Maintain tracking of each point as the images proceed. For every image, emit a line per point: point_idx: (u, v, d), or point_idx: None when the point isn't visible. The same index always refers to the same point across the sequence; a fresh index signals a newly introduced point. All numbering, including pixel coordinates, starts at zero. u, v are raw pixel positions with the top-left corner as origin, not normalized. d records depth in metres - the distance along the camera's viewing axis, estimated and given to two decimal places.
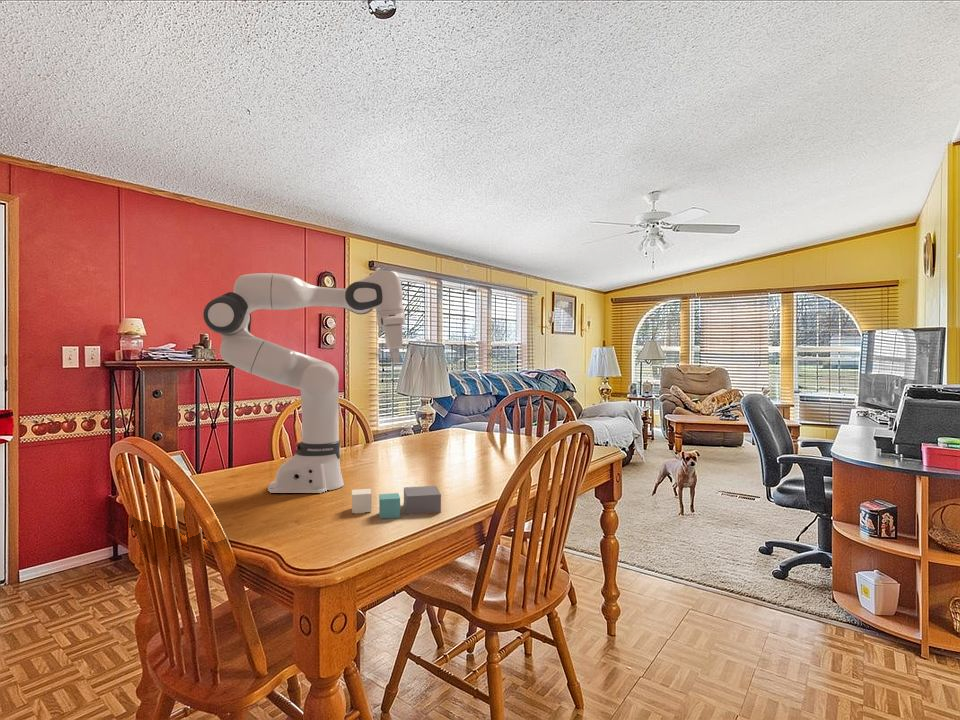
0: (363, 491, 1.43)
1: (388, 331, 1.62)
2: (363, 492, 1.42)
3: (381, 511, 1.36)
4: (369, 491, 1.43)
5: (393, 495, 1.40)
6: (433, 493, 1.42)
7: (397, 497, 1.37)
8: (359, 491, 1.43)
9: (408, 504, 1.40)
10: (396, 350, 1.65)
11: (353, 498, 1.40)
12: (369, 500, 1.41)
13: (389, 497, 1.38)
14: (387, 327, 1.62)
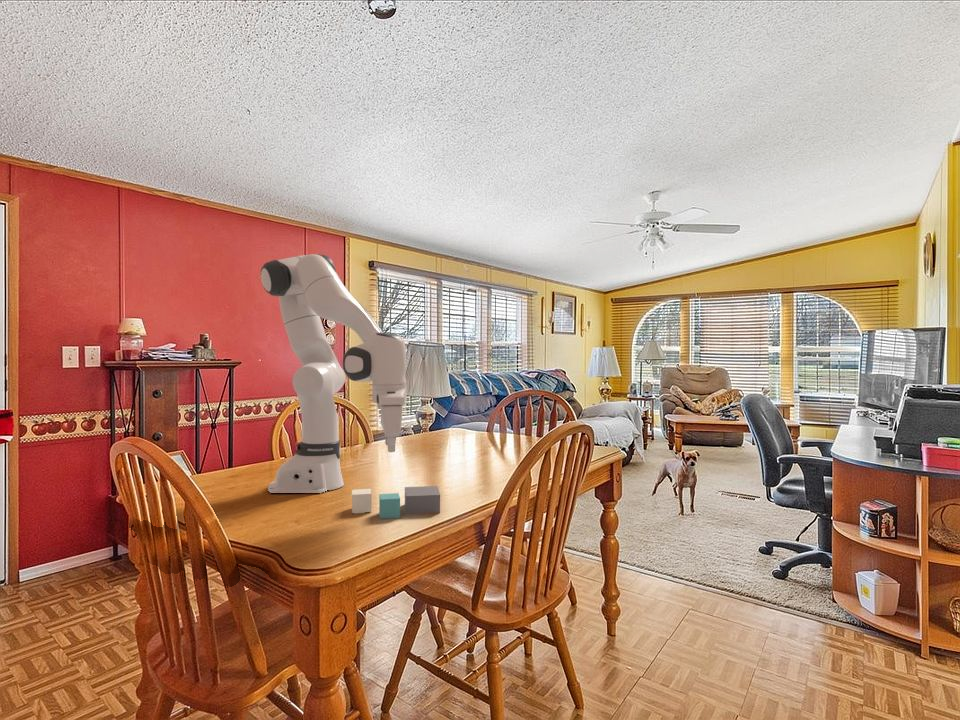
0: (363, 491, 1.43)
1: (384, 414, 1.28)
2: (363, 492, 1.42)
3: (381, 511, 1.36)
4: (369, 491, 1.43)
5: (393, 495, 1.40)
6: (432, 493, 1.42)
7: (398, 497, 1.37)
8: (359, 491, 1.43)
9: (407, 504, 1.40)
10: (392, 436, 1.32)
11: (353, 498, 1.40)
12: (369, 500, 1.41)
13: (389, 497, 1.38)
14: (383, 408, 1.29)
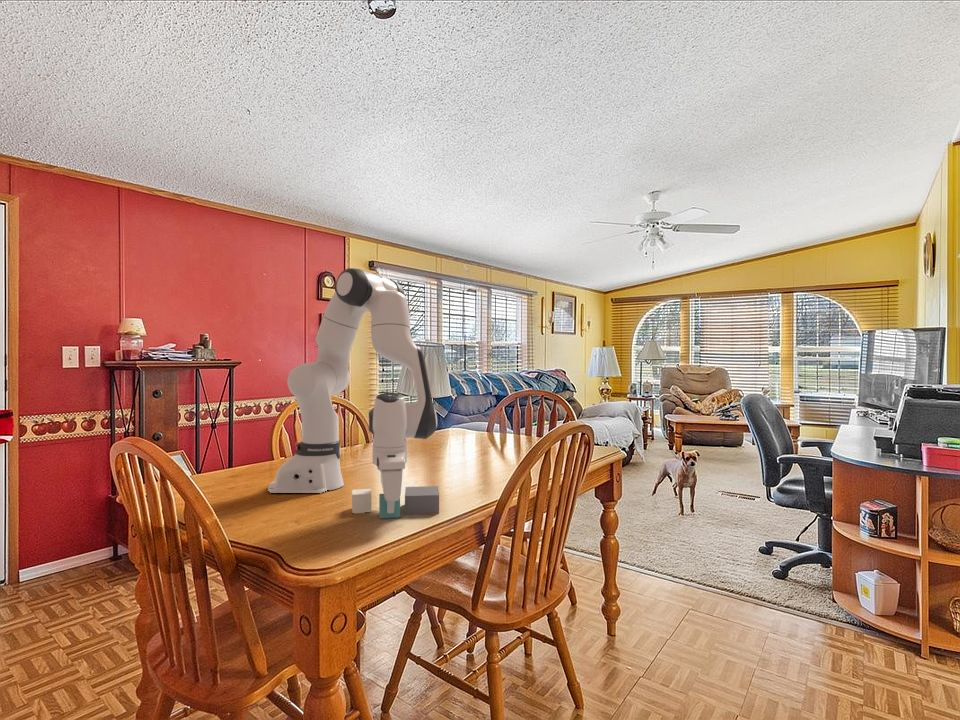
0: (363, 491, 1.43)
1: (384, 479, 1.29)
2: (363, 492, 1.42)
3: (381, 511, 1.36)
4: (369, 491, 1.43)
5: None
6: (432, 493, 1.42)
7: None
8: (359, 491, 1.43)
9: (406, 504, 1.40)
10: None
11: (353, 498, 1.40)
12: (369, 500, 1.41)
13: None
14: (383, 473, 1.30)
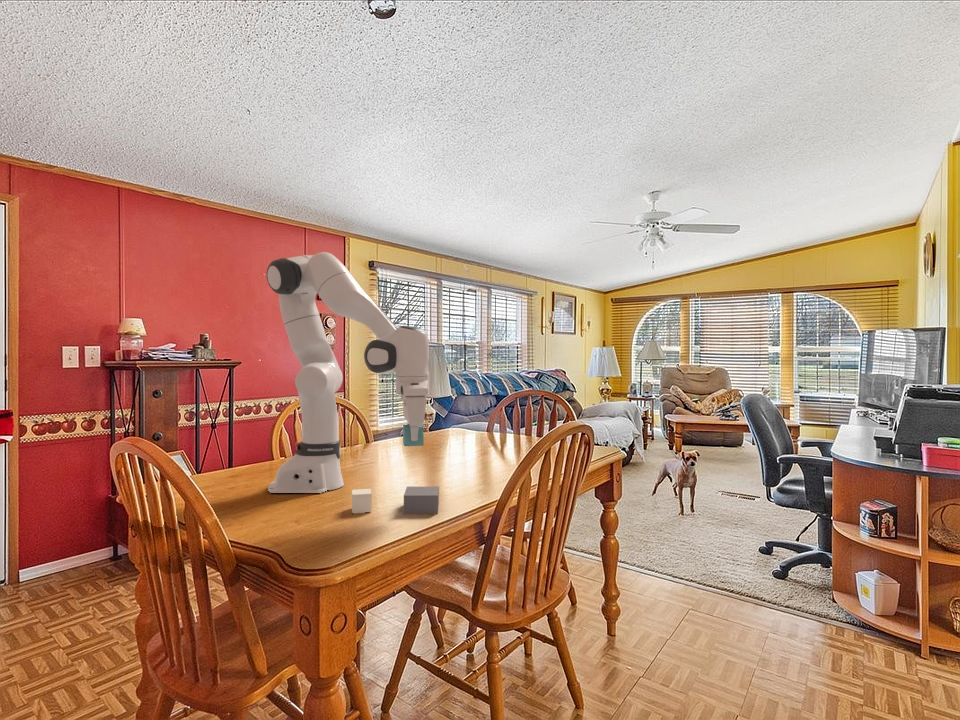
0: (363, 491, 1.43)
1: (408, 404, 1.32)
2: (363, 492, 1.42)
3: (405, 439, 1.39)
4: (369, 491, 1.43)
5: None
6: (431, 494, 1.42)
7: (421, 426, 1.41)
8: (359, 491, 1.43)
9: (405, 503, 1.40)
10: (415, 426, 1.37)
11: (353, 498, 1.40)
12: (369, 500, 1.41)
13: None
14: (408, 399, 1.33)
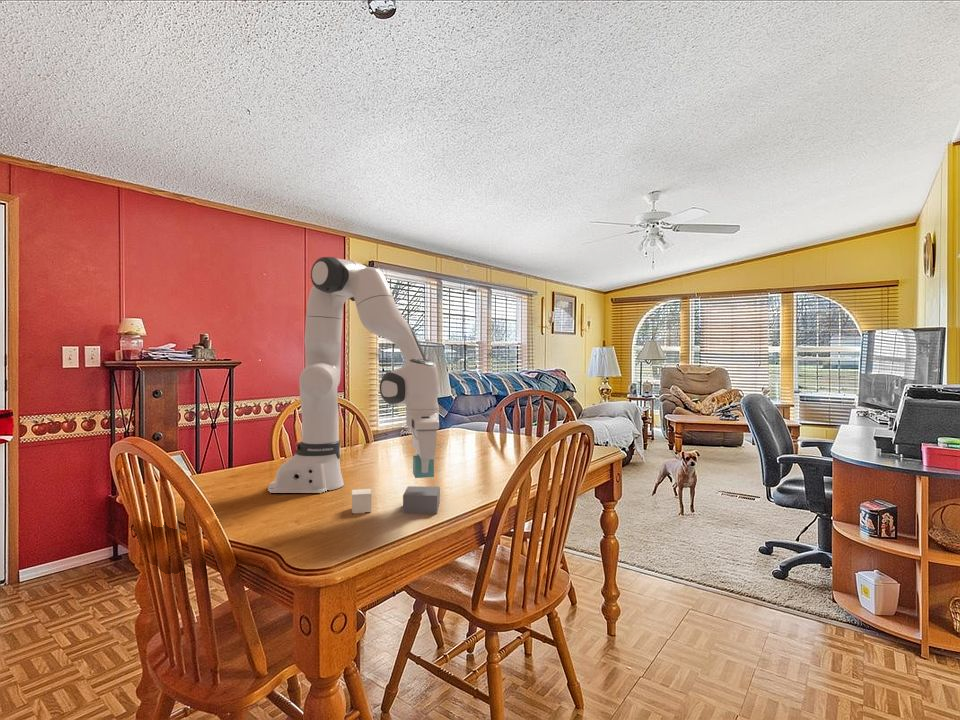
0: (363, 491, 1.43)
1: (420, 438, 1.35)
2: (363, 492, 1.42)
3: (416, 470, 1.42)
4: (369, 491, 1.43)
5: None
6: (430, 494, 1.42)
7: None
8: (359, 491, 1.43)
9: (404, 503, 1.40)
10: None
11: (353, 498, 1.40)
12: (369, 500, 1.41)
13: None
14: (419, 433, 1.35)
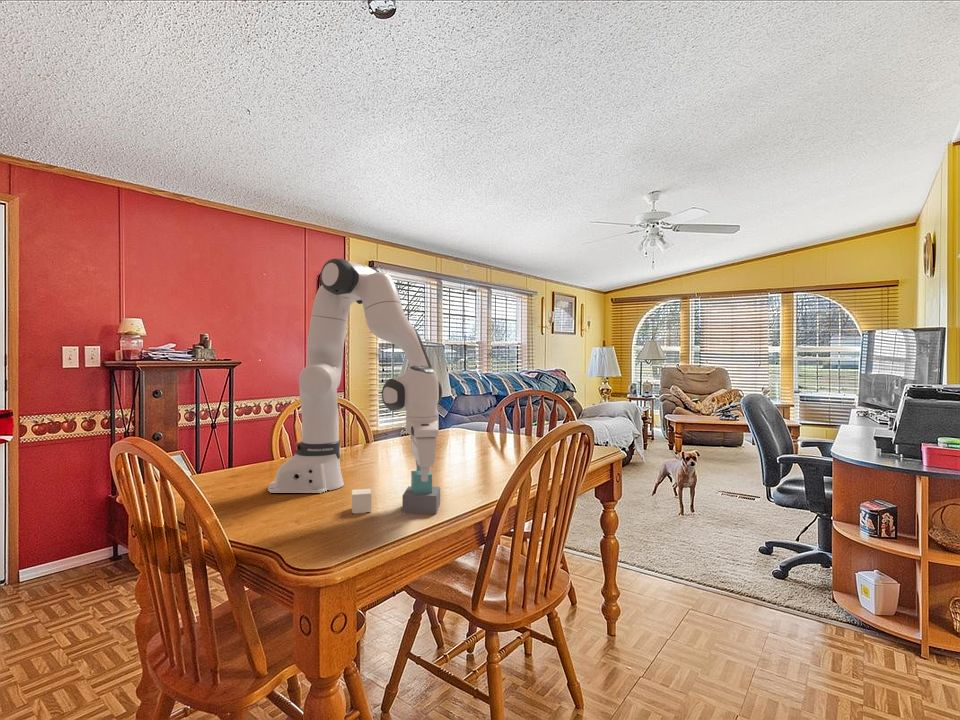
0: (363, 491, 1.43)
1: (419, 446, 1.35)
2: (363, 492, 1.42)
3: (414, 486, 1.42)
4: (369, 491, 1.43)
5: None
6: (430, 494, 1.42)
7: (430, 474, 1.43)
8: (359, 491, 1.43)
9: (404, 503, 1.41)
10: (426, 467, 1.38)
11: (353, 498, 1.40)
12: (369, 500, 1.41)
13: None
14: (418, 441, 1.35)
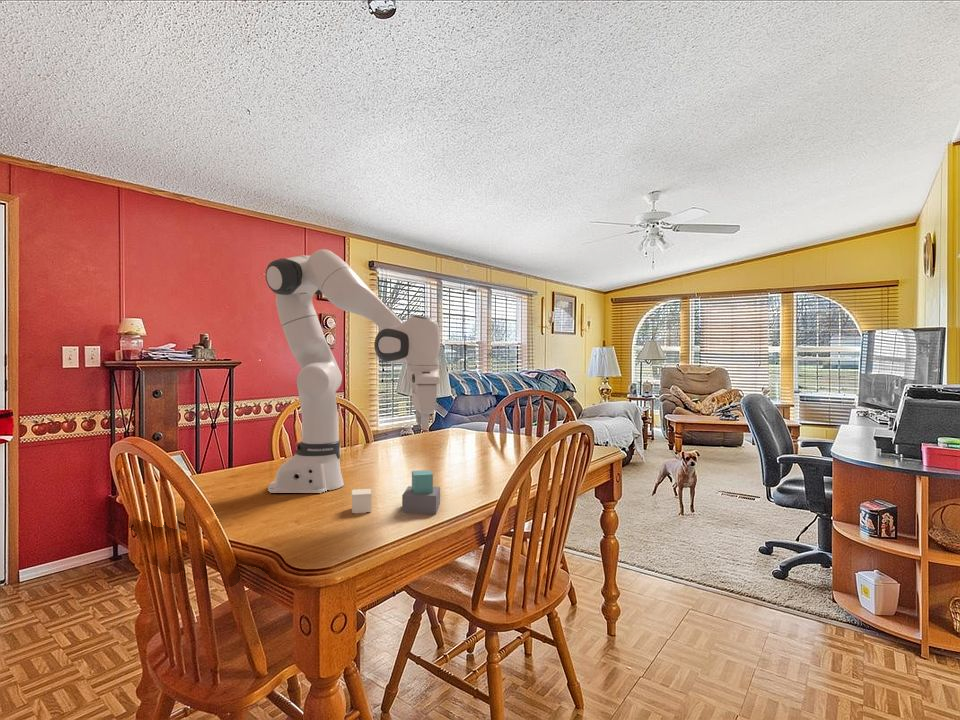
0: (363, 491, 1.43)
1: (420, 392, 1.35)
2: (363, 492, 1.42)
3: (415, 486, 1.42)
4: (369, 491, 1.43)
5: (425, 471, 1.46)
6: (430, 494, 1.42)
7: (430, 473, 1.43)
8: (359, 491, 1.43)
9: (403, 503, 1.41)
10: (426, 414, 1.38)
11: (353, 498, 1.40)
12: (369, 500, 1.41)
13: (422, 473, 1.44)
14: (419, 387, 1.35)
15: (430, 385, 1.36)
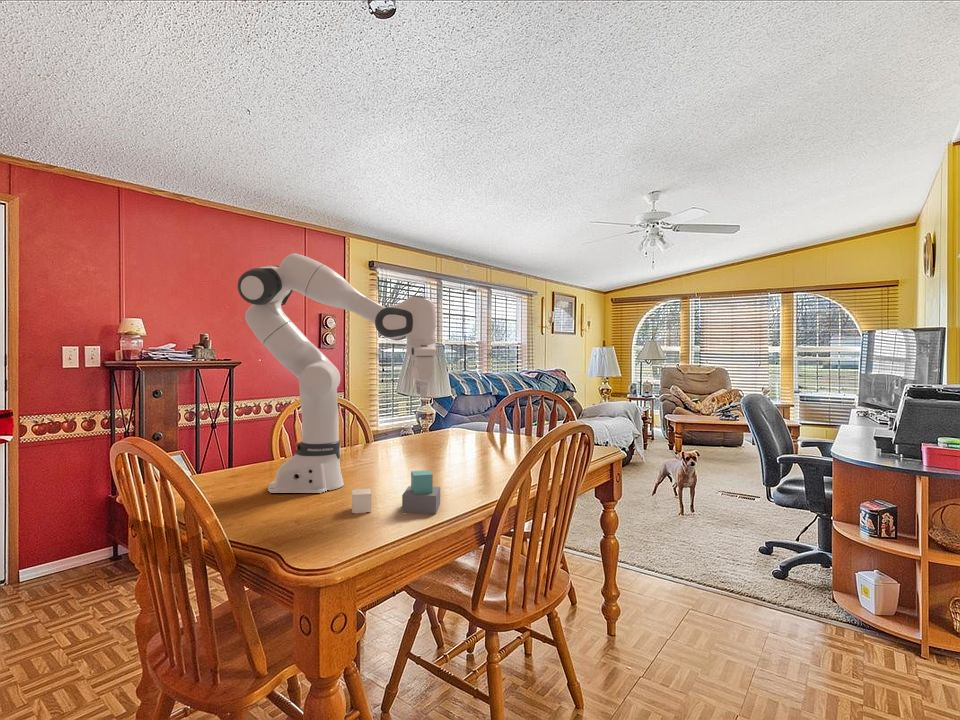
0: (363, 491, 1.43)
1: (419, 363, 1.52)
2: (363, 492, 1.42)
3: (415, 487, 1.42)
4: (369, 491, 1.43)
5: (425, 472, 1.45)
6: (430, 494, 1.42)
7: (430, 474, 1.43)
8: (359, 491, 1.43)
9: (403, 503, 1.41)
10: (424, 383, 1.56)
11: (353, 498, 1.40)
12: (369, 500, 1.41)
13: (422, 473, 1.44)
14: (418, 358, 1.53)
15: (427, 357, 1.54)
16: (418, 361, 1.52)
